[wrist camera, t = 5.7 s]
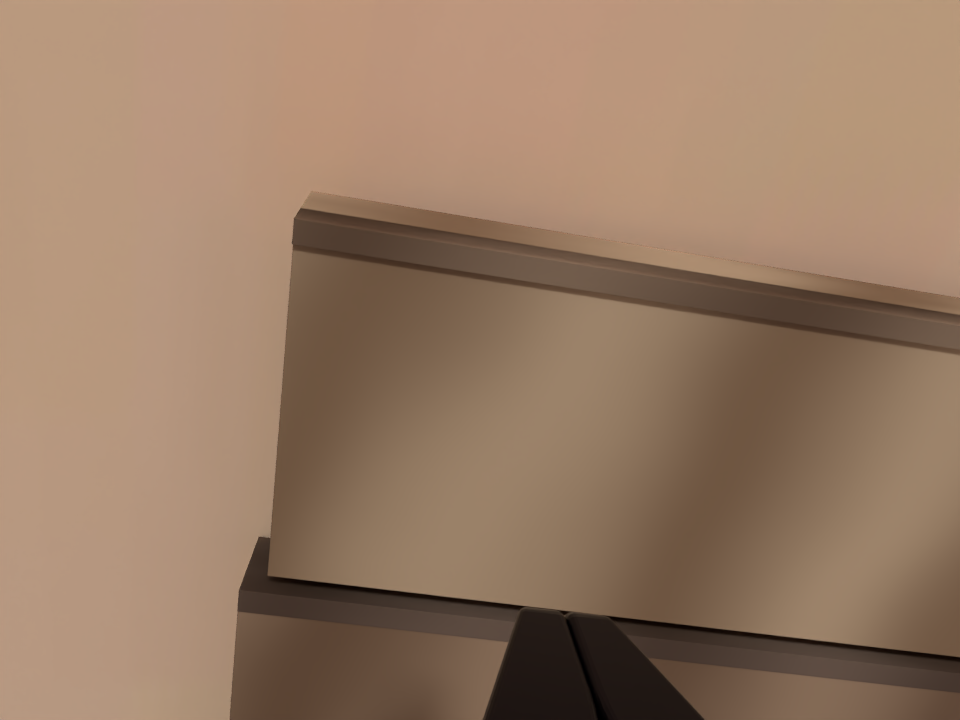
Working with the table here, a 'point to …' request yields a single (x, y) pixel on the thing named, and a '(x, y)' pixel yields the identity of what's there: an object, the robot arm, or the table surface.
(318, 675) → the laid board
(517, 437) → the plank
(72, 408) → the table surface
